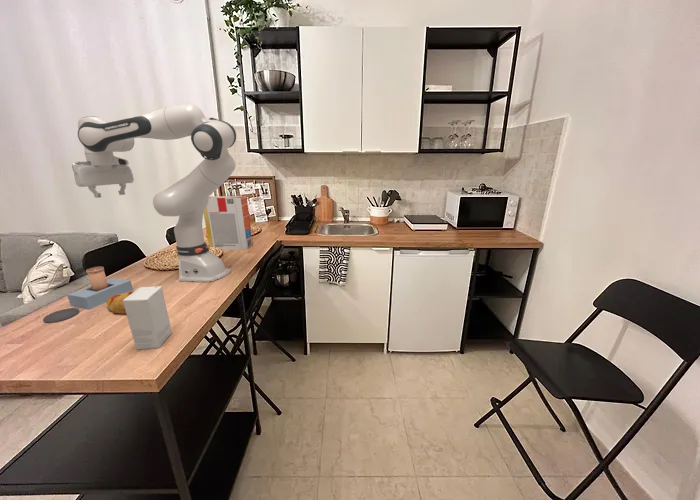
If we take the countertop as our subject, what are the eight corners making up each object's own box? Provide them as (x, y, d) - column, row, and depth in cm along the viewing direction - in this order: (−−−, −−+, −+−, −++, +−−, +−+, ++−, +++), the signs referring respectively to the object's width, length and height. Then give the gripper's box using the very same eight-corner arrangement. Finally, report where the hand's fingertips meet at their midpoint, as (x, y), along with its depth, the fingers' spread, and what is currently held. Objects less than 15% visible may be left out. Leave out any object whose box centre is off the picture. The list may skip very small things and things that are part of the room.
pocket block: (133, 290, 120) (130, 280, 118) (89, 309, 105) (85, 297, 104) (115, 287, 123) (112, 277, 121) (70, 305, 108) (66, 294, 107)
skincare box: (151, 333, 90) (139, 286, 85) (174, 332, 90) (163, 285, 85) (134, 350, 82) (120, 299, 77) (159, 349, 82) (147, 298, 77)
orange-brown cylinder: (114, 295, 116) (106, 267, 112) (101, 301, 111) (91, 271, 107) (105, 294, 117) (97, 265, 114) (91, 299, 113) (82, 270, 109)
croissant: (104, 317, 107) (86, 304, 101) (124, 294, 114) (109, 281, 108) (149, 323, 101) (133, 310, 95) (167, 299, 108) (154, 286, 102)
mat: (85, 311, 104) (85, 309, 104) (54, 324, 96) (54, 323, 95) (68, 308, 107) (68, 306, 106) (37, 320, 98) (36, 319, 98)
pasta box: (252, 245, 179) (246, 195, 170) (247, 249, 171) (240, 197, 162) (216, 245, 181) (208, 196, 172) (209, 249, 173) (200, 198, 164)
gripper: (76, 161, 108) (87, 199, 112) (131, 160, 126) (139, 193, 130) (65, 161, 110) (76, 199, 114) (121, 161, 128) (129, 193, 132)
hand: (110, 196), depth 122 cm, fingers open, 8 cm apart
